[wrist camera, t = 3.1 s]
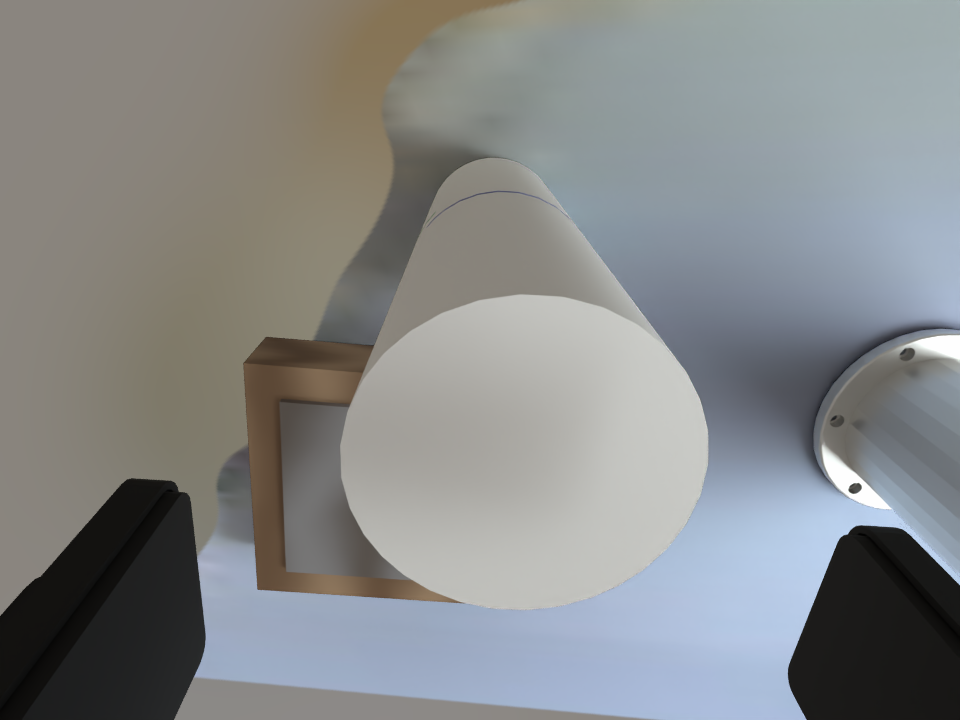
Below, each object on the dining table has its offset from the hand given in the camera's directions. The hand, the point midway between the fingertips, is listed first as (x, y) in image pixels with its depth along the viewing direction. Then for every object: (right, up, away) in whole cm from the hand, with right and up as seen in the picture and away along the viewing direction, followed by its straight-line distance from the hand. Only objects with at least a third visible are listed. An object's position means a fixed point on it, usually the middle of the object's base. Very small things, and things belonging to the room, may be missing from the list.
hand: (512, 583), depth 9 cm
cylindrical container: (0, +11, +26) cm, 28 cm away
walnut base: (-6, -3, +32) cm, 33 cm away
